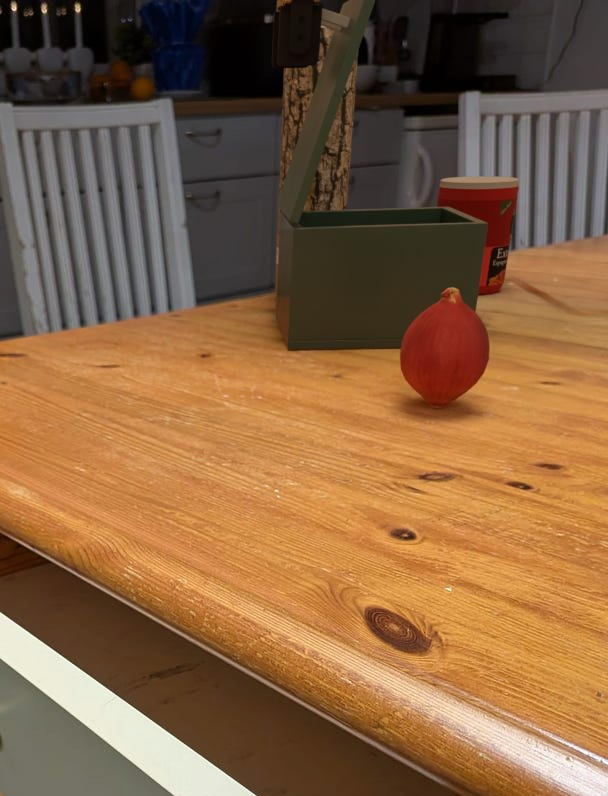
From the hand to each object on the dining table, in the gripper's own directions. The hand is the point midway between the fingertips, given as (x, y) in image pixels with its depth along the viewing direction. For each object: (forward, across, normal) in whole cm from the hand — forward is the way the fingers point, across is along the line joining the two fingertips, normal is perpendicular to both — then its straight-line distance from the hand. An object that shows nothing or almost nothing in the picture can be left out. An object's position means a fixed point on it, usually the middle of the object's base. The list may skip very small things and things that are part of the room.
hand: (294, 64), depth 78 cm
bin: (+21, 0, -8) cm, 23 cm away
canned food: (+21, +21, -22) cm, 37 cm away
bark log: (+22, +14, -4) cm, 26 cm away
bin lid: (+4, 0, -3) cm, 5 cm away
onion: (+22, -25, -9) cm, 34 cm away
